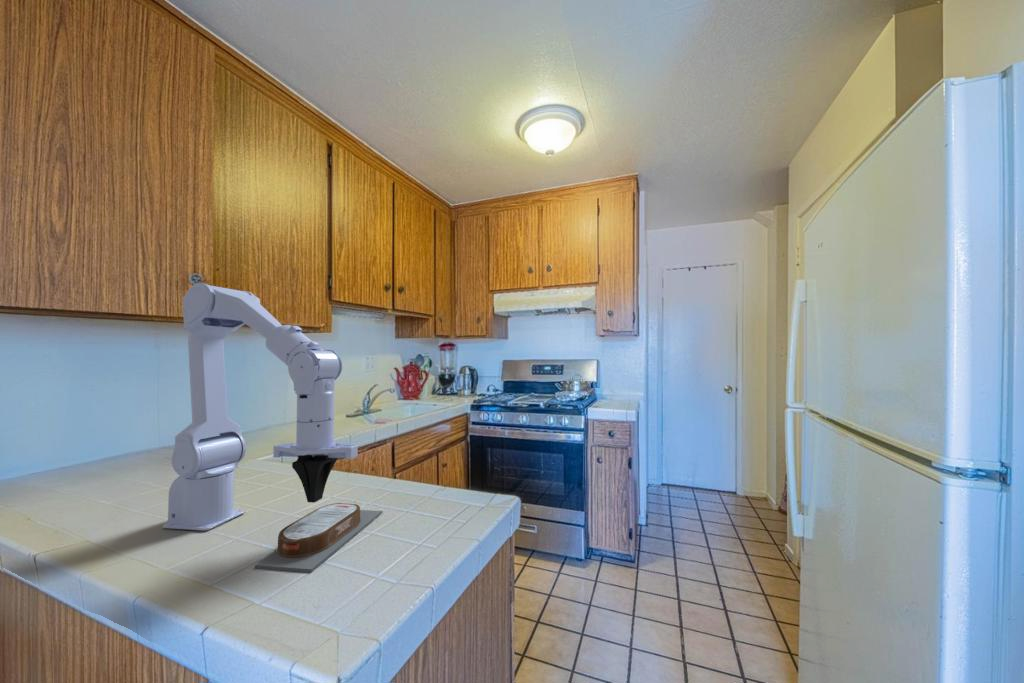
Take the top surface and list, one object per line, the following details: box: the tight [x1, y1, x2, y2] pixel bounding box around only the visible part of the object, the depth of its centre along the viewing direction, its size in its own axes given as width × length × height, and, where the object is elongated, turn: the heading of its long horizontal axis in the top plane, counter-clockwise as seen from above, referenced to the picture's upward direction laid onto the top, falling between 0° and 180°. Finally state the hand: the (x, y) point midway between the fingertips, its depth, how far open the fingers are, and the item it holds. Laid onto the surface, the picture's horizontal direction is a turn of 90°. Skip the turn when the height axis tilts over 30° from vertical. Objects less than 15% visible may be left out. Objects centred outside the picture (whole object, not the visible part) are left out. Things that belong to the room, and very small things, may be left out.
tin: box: [276, 502, 361, 558], centre depth 62 cm, size 15×3×8 cm
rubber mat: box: [254, 509, 383, 573], centre depth 62 cm, size 9×20×1 cm, turn 171°
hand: (314, 500), depth 63 cm, fingers closed
